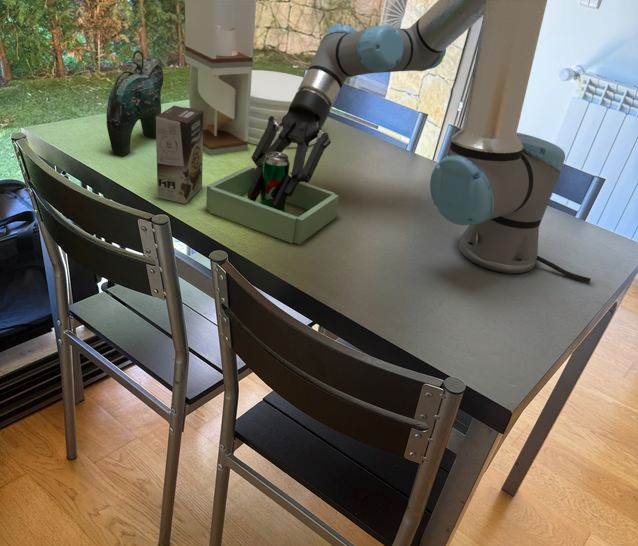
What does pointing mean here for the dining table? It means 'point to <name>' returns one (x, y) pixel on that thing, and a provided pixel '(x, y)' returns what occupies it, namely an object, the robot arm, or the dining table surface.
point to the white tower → (221, 69)
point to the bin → (268, 220)
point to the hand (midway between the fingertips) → (263, 203)
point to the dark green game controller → (134, 104)
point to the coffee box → (179, 153)
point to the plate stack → (270, 101)
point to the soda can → (273, 177)
